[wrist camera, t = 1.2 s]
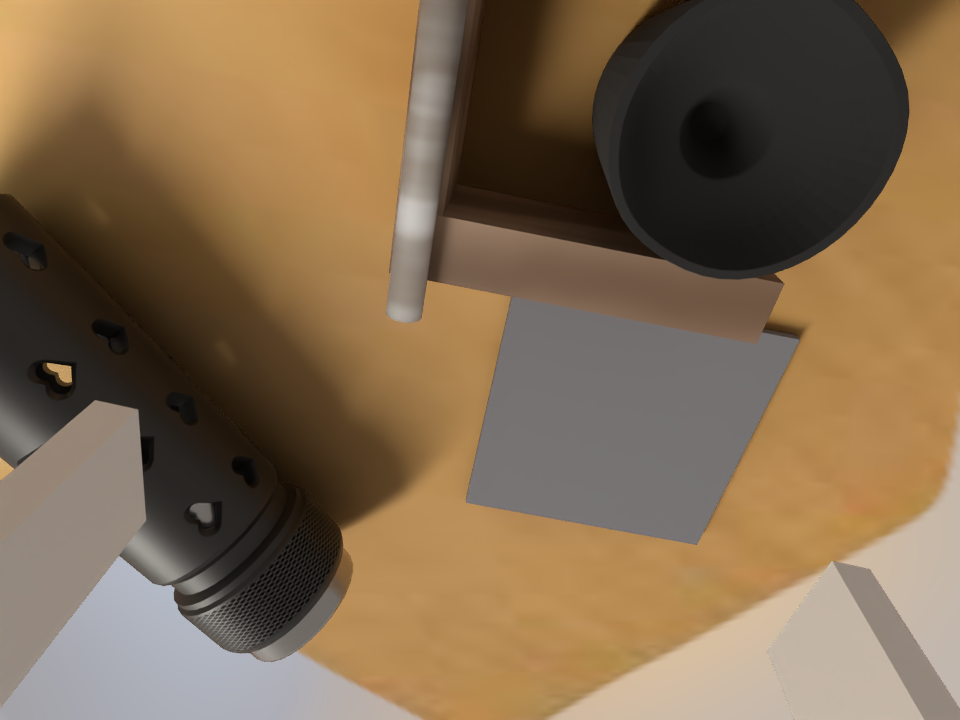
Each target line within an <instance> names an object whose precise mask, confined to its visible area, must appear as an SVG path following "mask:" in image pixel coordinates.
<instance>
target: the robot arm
mask: <svg viewBox="0 0 960 720" xmlns="http://www.w3.org/2000/svg"><path fill="white" fill-rule="evenodd" d="M145 521H146V512H145V498H144V484H143V470H142V456H141V441H140V427H139V413H138V409H133V408H129V407H124V406H120V405H115V404H110V403H106V402H101V401H97V400H95V401H94V402H92V403H91V404H90V405H89V406H88V407H87V408H85V409H84V410H83V411H82V412H81V413H80V414H78V415H77V416H76V417H75V418H74V419H73V420H71V421H70V422H69V423H68V424H67V425H66V426H64V427H63V428H62V429H61V430H60V431H59V432H57V433H56V434H55V435H54V436H53V437H52V438H50V439H49V440H48V441H47V442H46V443H45V444H43V445H42V446H41V447H40V448H39V449H38V450H36V451H35V452H34V453H33V454H32V455H30V456H29V457H28V458H27V459H26V460H25V461H23V462H22V463H21V464H20V465H19V466H18V467H16V468H15V469H14V470H13V471H12V472H11V473H9V474H8V475H7V476H6V477H5V478H4V479H2V480H1V481H0V708H1V707H2V705H3V704H4V703H5V702H6V700H7V699H8V698H9V696H10V695H11V694H12V693H13V691H14V690H15V689H16V687H17V686H18V685H19V684H20V682H21V681H22V680H23V678H24V677H25V676H26V675H27V673H28V672H29V671H30V669H31V668H32V667H33V665H34V664H35V663H36V662H37V660H38V659H39V658H40V656H41V655H42V654H43V653H44V651H45V650H46V649H47V647H48V646H49V645H50V644H51V642H52V641H53V640H54V638H55V637H56V636H57V635H58V633H59V632H60V631H61V629H62V628H63V627H64V625H65V624H66V623H67V621H68V620H69V619H70V618H71V617H72V615H73V614H74V613H75V611H76V610H77V609H78V607H79V606H80V605H81V604H82V602H83V601H84V600H85V599H86V597H87V596H88V595H89V593H90V592H91V591H92V590H93V588H94V587H95V586H96V584H97V583H98V582H99V581H100V579H101V578H102V576H103V575H104V574H105V573H106V571H107V570H108V569H109V568H110V566H111V565H112V564H113V562H114V561H115V560H116V559H117V557H118V556H119V555H120V553H121V552H122V551H123V550H124V548H125V547H126V546H127V544H128V543H129V542H130V541H131V539H132V538H133V537H134V535H135V534H136V533H137V532H138V530H139V529H140V528H141V526H142V525H143V524H144V523H145ZM767 653H768V655H769V658H770V660H771V663H772V665H773V668H774V670H775V673H776V676H777V678H778V681H779V683H780V686H781V688H782V691H783V693H784V696H785V699H786V701H787V704H788V706H789V709H790V711H791V714H792V717H793V719H794V720H960V708H959V707H958V705H957V704H956V702H955V701H954V699H953V697H952V696H951V694H950V693H949V691H948V690H947V689H946V687H945V685H944V684H943V682H942V680H941V679H940V677H939V676H938V675H937V673H936V671H935V670H934V668H933V666H932V665H931V664H930V662H929V660H928V659H927V657H926V655H925V654H924V653H923V651H922V649H921V648H920V646H919V645H918V643H917V641H916V640H915V639H914V637H913V635H912V634H911V632H910V631H909V629H908V627H907V626H906V624H905V623H904V621H903V620H902V618H901V617H900V615H899V614H898V612H897V610H896V609H895V607H894V606H893V604H892V603H891V601H890V599H889V598H888V596H887V595H886V593H885V592H884V590H883V589H882V587H881V586H880V584H879V582H878V581H877V579H876V578H875V576H874V575H873V573H872V571H871V570H870V569H866V568H862V567H857V566H853V565H848V564H844V563H839V562H835V561H831V563H830V564H829V566H828V567H827V568H826V570H825V571H824V572H823V574H822V575H821V577H820V578H819V579H818V581H817V582H816V583H815V585H814V586H813V588H812V589H811V590H810V592H809V593H808V594H807V596H806V597H805V599H804V600H803V601H802V603H801V604H800V605H799V607H798V608H797V609H796V611H795V612H794V614H793V615H792V616H791V618H790V619H789V620H788V622H787V623H786V624H785V626H784V627H783V629H782V630H781V631H780V633H779V634H778V636H777V637H776V638H775V640H774V641H773V642H772V644H771V645H770V646H769V648H768V649H767Z"/></svg>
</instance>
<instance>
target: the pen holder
mask: <svg viewBox="0 0 960 720" xmlns="http://www.w3.org/2000/svg"><path fill="white" fill-rule="evenodd" d="M908 118H909V100H908V89H907V86H906V82H905V79H904V75H903V72H902V69H901V67H900V65H899V63H898V61H897V59H896V56H895V54H894V52H893V50H892V49H891V47H890V46H889V44H888V42H887V41H886V39H885V38H884V36H883V34H882V33H881V32H880V30H879V29H878V28H877V26H876V25H875V24H874V22H873V21H872V20H871V19H870V17H869V16H868V15H867V14H866V13H865V12H864V10H863V9H862V8H861V7H860V6H859V5H858V4H857V3H856V2H855V1H854V0H689V1H687V2H684V3H681V4H678V5H676V6H674V7H672V8H669V9H667V10H665V11H663V12H661V13H659V14H657V15H655V16H653V17H652V18H650V19H649V20H647V21H646V22H644V23H643V24H641V25H640V26H639V27H638V28H636V29H635V30H634V31H633V32H632V33H630V34H629V36H628V37H627V38H626V39H625V40H624V41H623V42H622V43H621V44H620V45H619V47H618V48H617V49H616V51H615V52H614V53H613V55H612V56H611V58H610V60H609V61H608V63H607V65H606V67H605V68H604V71H603V73H602V75H601V78H600V80H599V83H598V86H597V89H596V93H595V98H594V103H593V114H592V125H593V135H594V140H595V145H596V149H597V153H598V156H599V159H600V162H601V165H602V168H603V171H604V174H605V177H606V179H607V182H608V185H609V188H610V191H611V194H612V196H613V199H614V202H615V205H616V207H617V209H618V211H619V213H620V215H621V217H622V219H623V221H624V222H625V223H626V225H627V226H628V227H629V229H630V230H631V232H632V233H633V234H634V235H635V236H636V237H637V238H638V239H639V240H640V241H641V242H642V243H643V244H645V245H646V246H647V247H648V248H650V249H651V250H652V251H653V252H655V253H656V254H658V255H659V256H661V257H662V258H664V259H665V260H667V261H668V262H670V263H672V264H674V265H676V266H678V267H680V268H682V269H684V270H687V271H690V272H693V273H695V274H698V275H701V276H705V277H711V278H716V279H732V280H739V279H749V278H757V277H761V276H765V275H769V274H774V273H776V272H779V271H782V270H785V269H788V268H791V267H793V266H795V265H797V264H799V263H801V262H803V261H805V260H807V259H809V258H811V257H813V256H814V255H816V254H818V253H819V252H821V251H823V250H824V249H826V248H827V247H828V246H830V245H831V244H832V243H834V242H835V241H836V240H838V239H839V238H840V237H842V236H843V235H844V234H845V233H846V232H847V231H848V230H849V229H850V228H851V227H852V226H854V225H855V224H856V223H857V222H858V221H859V219H860V218H861V217H862V216H863V215H864V214H865V213H866V211H867V210H868V209H869V208H870V207H871V205H872V204H873V203H874V201H875V200H876V199H877V197H878V196H879V194H880V193H881V192H882V190H883V188H884V187H885V185H886V183H887V181H888V180H889V178H890V176H891V174H892V173H893V171H894V168H895V166H896V164H897V161H898V159H899V157H900V154H901V152H902V148H903V144H904V141H905V137H906V134H907V127H908Z"/></svg>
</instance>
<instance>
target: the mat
mask: <svg viewBox="0 0 960 720" xmlns="http://www.w3.org/2000/svg"><path fill="white" fill-rule="evenodd" d="M799 341H800V339H799V338H798V337H797V336H796V335H793V334H788V333H783V332H778V331H773V330H768V329H763V331H762V333H761V335H760V338H759V340H758V342H757V344H753V343H748V342H743V341H738V340H733V339H728V338H722V337H717V336H712V335H707V334H702V333H697V332H692V331H686V330H681V329H676V328H671V327H666V326H661V325H656V324H650V323H645V322H640V321H635V320H630V319H625V318H620V317H614V316H609V315H604V314H599V313H594V312H589V311H584V310H578V309H573V308H568V307H563V306H558V305H553V304H548V303H542V302H537V301H532V300H527V299H522V298H517V297H511V301H510V306H509V310H508V315H507V319H506V323H505V328H504V332H503V337H502V341H501V346H500V350H499V355H498V359H497V363H496V368H495V372H494V377H493V381H492V386H491V390H490V395H489V399H488V403H487V408H486V412H485V417H484V421H483V426H482V430H481V435H480V439H479V443H478V448H477V452H476V457H475V461H474V466H473V470H472V475H471V479H470V483H469V488H468V492H467V497H466V503H471V504H476V505H482V506H487V507H493V508H498V509H503V510H509V511H514V512H520V513H525V514H531V515H536V516H542V517H547V518H553V519H558V520H563V521H569V522H574V523H580V524H585V525H591V526H596V527H602V528H607V529H613V530H618V531H624V532H629V533H634V534H640V535H645V536H651V537H656V538H662V539H667V540H673V541H678V542H684V543H689V544H694V545H697V544H698V542H699V540H700V538H701V536H702V534H703V532H704V530H705V528H706V526H707V524H708V522H709V520H710V518H711V516H712V514H713V512H714V510H715V508H716V506H717V504H718V502H719V500H720V498H721V496H722V494H723V492H724V490H725V488H726V486H727V484H728V482H729V480H730V478H731V476H732V474H733V472H734V470H735V468H736V466H737V464H738V462H739V460H740V458H741V456H742V454H743V452H744V450H745V448H746V446H747V444H748V442H749V440H750V438H751V436H752V434H753V433H754V431H755V429H756V427H757V425H758V423H759V421H760V419H761V417H762V415H763V413H764V411H765V409H766V407H767V405H768V403H769V401H770V399H771V397H772V395H773V393H774V391H775V389H776V387H777V385H778V383H779V381H780V379H781V377H782V375H783V373H784V371H785V369H786V367H787V365H788V363H789V361H790V359H791V357H792V355H793V353H794V351H795V349H796V347H797V345H798V343H799Z"/></svg>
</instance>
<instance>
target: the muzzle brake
mask: <svg viewBox="0 0 960 720" xmlns="http://www.w3.org/2000/svg"><path fill="white" fill-rule="evenodd" d="M47 363H53V364H60V365H67V366H71V371H72V382H70V383H65V382H63V381H62V380H60V378H59V375H58V373H57V372H53V371H51V370H50V369H49V368H48V367H47ZM95 400H97V401H101V402H106V403H110V404H115V405H120V406H124V407H129V408H133V409H138V413H139V427H140V441H141V456H142V470H143V484H144V498H145V512H146V521H145V523H144V524H143V525H142V526H141V528H140V529H139V530H138V532H137V533H136V534H135V535H134V537H133V538H132V539H131V541H130V542H129V543H128V544H127V546H126V547H125V548H124V550H123V551H122V552H121V553H120V555H119V556H120V557H122V558H123V559H124V560H125V561H126V562H128V563H129V564H130V565H131V566H133V567H134V568H135V569H136V570H137V571H139V572H140V573H141V574H142V575H143V576H145V577H146V578H147V579H148V580H150V581H151V582H152V583H154V584H157V585H162V586H166V585H172V586H173V587H174V588H175V591H174V600H175V602H176V603H177V604H178V610H179V611H180V613H181V614H182V615H183V616H184V617H185V618H186V619H187V620H189V621H190V622H191V623H192V624H193V625H195V626H196V627H197V628H198V629H199V630H201V631H202V632H203V633H204V634H206V635H207V636H208V637H209V638H210V639H212V640H213V641H214V642H215V643H217V644H218V645H219V646H220V647H222V648H223V649H225V650H227V651H230V652H235V653H250V654H252V655H253V656H254V657H255V658H256V659H258V660H261V661H264V662H273V661H277V660H281V659H283V658H285V657H287V656H289V655H291V654H292V653H294V652H295V651H297V650H298V649H300V648H301V647H303V646H304V645H305V644H306V643H307V642H308V641H310V640H311V639H312V638H313V637H314V636H315V635H316V634H317V633H318V632H319V631H320V630H321V629H322V628H323V627H324V625H325V624H326V623H327V622H328V620H329V619H330V618H331V617H332V615H333V614H334V612H335V611H336V609H337V608H338V607H339V605H340V603H341V602H342V600H343V598H344V596H345V594H346V592H347V589H348V587H349V584H350V582H351V577H352V573H353V563H352V560H351V556H350V555H349V553H348V552H347V551H346V550H345V549H344V548H343V540H342V535H341V531H340V528H339V527H338V526H337V524H336V523H335V522H334V521H333V520H332V519H331V518H330V517H329V516H328V515H327V514H326V513H325V512H324V511H323V510H322V509H321V508H320V507H319V505H318V504H317V503H316V502H315V501H314V500H313V499H312V498H311V497H310V496H309V495H308V494H307V493H306V492H305V491H304V490H303V489H301V488H298V487H294V486H293V485H290V484H279V483H278V482H277V471H276V468H275V467H274V466H273V464H272V463H271V462H270V461H269V460H268V459H267V458H266V457H265V456H263V455H262V454H261V453H260V452H259V451H258V449H257V448H256V447H255V446H254V445H253V444H252V443H251V442H250V441H249V440H248V439H247V438H246V437H245V436H244V435H243V434H242V432H241V431H240V430H239V429H238V428H237V427H236V426H235V425H234V424H233V423H232V422H231V421H230V420H229V419H228V418H227V417H226V416H225V415H224V414H223V413H222V412H221V411H220V410H219V409H218V408H217V407H216V406H215V405H214V404H213V402H212V401H211V400H210V399H208V398H207V397H206V396H205V395H204V394H203V393H202V392H201V391H200V390H199V388H198V387H197V386H196V385H195V384H194V383H193V382H192V381H191V380H190V379H189V378H188V377H187V376H186V375H185V374H184V373H183V371H182V370H181V369H180V368H179V367H178V366H177V365H176V364H175V363H174V362H173V361H172V360H171V359H170V358H169V357H168V356H167V355H166V354H165V353H164V352H163V351H162V350H161V349H160V348H159V347H158V346H157V345H156V344H155V343H154V342H153V340H152V339H151V338H150V337H149V336H148V335H146V334H145V333H144V332H143V331H142V330H141V329H140V328H139V327H138V326H137V325H136V323H135V322H134V321H133V320H132V319H131V318H130V317H129V316H128V315H127V314H126V313H125V312H124V311H123V310H122V309H121V308H120V307H119V306H118V304H117V303H116V302H115V301H114V300H113V299H112V298H111V297H110V296H109V295H108V294H107V293H106V292H105V291H104V290H103V289H102V288H101V287H100V286H99V285H98V284H97V283H96V282H95V281H94V280H93V279H92V277H91V276H90V275H89V274H88V273H87V272H86V271H85V270H84V269H83V268H82V267H81V266H80V265H79V264H78V263H77V262H76V261H75V260H74V259H73V258H72V257H71V256H70V255H69V254H68V253H67V252H66V251H65V250H64V249H63V248H62V247H61V246H60V245H59V244H58V243H57V242H56V241H55V240H54V239H53V238H52V237H51V236H50V235H49V234H48V233H47V232H46V231H45V230H44V228H43V227H42V226H41V225H40V224H39V223H38V222H37V221H36V220H35V219H34V218H33V217H32V215H31V214H30V213H29V212H28V211H27V210H26V209H25V208H24V207H23V206H22V205H21V204H20V203H19V202H18V201H17V200H16V199H15V198H14V197H13V196H11V195H8V194H0V457H1V458H2V459H3V460H4V461H6V462H7V463H8V464H9V465H10V466H12V467H13V468H14V469H15V468H16V467H18V466H19V465H20V464H21V463H22V462H23V461H25V460H26V459H27V458H28V457H29V456H30V455H32V454H33V453H34V452H35V451H36V450H38V449H39V448H40V447H41V446H42V445H43V444H45V443H46V442H47V441H48V440H49V439H50V438H52V437H53V436H54V435H55V434H56V433H57V432H59V431H60V430H61V429H62V428H63V427H64V426H66V425H67V424H68V423H69V422H70V421H71V420H73V419H74V418H75V417H76V416H77V415H78V414H80V413H81V412H82V411H83V410H84V409H85V408H87V407H88V406H89V405H90V404H91V403H92V402H94V401H95Z"/></svg>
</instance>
